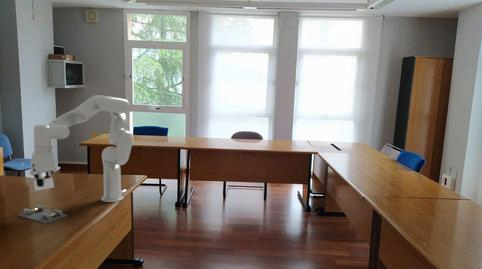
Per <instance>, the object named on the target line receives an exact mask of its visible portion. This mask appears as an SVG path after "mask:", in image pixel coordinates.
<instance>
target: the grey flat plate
mask: <svg viewBox="0 0 482 269" xmlns="http://www.w3.org/2000/svg"><path fill="white" fill-rule="evenodd" d="M42 213H44V214H51V213H53V210H50V209H46V208H44V212H42V211H38V212H34V213H32V215H28V214H24V212H23V213H22V212H21V213H19V214H17V216H18V217H20V218H25V219H28V220H31V221H35V222H38V223H42V224H49V223H52V222H55V221H58V220H61V219H63V218H66V217H68V214H64V213H62V216H61V217H60V216H55V217H52V218H50V219H51V220H45V219H42Z"/></svg>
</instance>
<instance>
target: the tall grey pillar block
mask: <svg viewBox="0 0 482 269" xmlns="http://www.w3.org/2000/svg"><path fill="white" fill-rule="evenodd" d="M41 179H42V187H39V186H37V179H36V180H34V181H33V185H34V190H35V192H36V191H42V190H47V189H52V188H55V185H54V180H53V177H50V178H47V179H45V178H41Z"/></svg>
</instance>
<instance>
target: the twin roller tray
mask: <svg viewBox="0 0 482 269" xmlns="http://www.w3.org/2000/svg"><path fill="white" fill-rule="evenodd" d="M44 209H45V206H43V205H40V204H39V205H38V204H36V205H35V207H34V208H31V209H29V208H26V207H25V208H23V213H24V214H28V215H32V213H34V212H38V211H42V212H44ZM52 211H53V213H51V214H44V213H42V219H45V220H51V219H50V218H52V217H55V216H60V217H61V216H62V214H63V211H62V210H60V209H59V210H58V209H53V210H52Z"/></svg>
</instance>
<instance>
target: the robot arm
mask: <svg viewBox="0 0 482 269" xmlns="http://www.w3.org/2000/svg"><path fill="white" fill-rule="evenodd" d="M130 110H131V103H130V102H129V101H128V100H127V99H125V98H120V97H113V96H109V95H101V94H96V95H95V94H94V95H92V96H91V97H89V98H88V99H86V100H85V101H84V102H82V103H81V104H80V105H78V106H77V107H76V108H74V109H71V110H70V111H68V112H66V113H63V114H61V115H59V116H58V117H56V118H55V119H53V120H52V121H51V122H49V123H48V124H36V125H34V126H33V140H34V141H33V146H34V147H33V150H34V152H32V154H31V158H30V172H29V176H33V177H34V178H35V179H36V180H37V186H39V187H42V179H43V178H42V174H43V173H45V177H44V179H47V178H52V177H53V176H52V175H53V174H54V173H55V172H57V168H56V166H55V165H56V163H55V157H54V156H55V155H54V152H53V151H52V150H53V149H54V146H53V145H52V144H53V143H52V139H54V140H55V139H56V140H63V139H66V138H68V136H69V135H70V128H69V127H71V126H74V125H78V124H82V123H84V122H87V121H88V120H90V119H91V118H92V117H94V115H96V114H98V113H99V112H100V111H101V112H108V113H109V114H110V115H111V125H110V129H109V131H108V132H109V133H108V135H107V136H108V137H107V138H108V139H107V140H108V142H109V143H110V144H112V145H115V146H107V147H104V149H103V150H102V153H101V159H102V160H101V161H102V165H103V166H102V167H103V196H101V198H100V200H101V201H102V202H105V203H116V202H120V201H123V200H124V195H123V194H125V193H127V189H122V181H121V180H122V175H121V174H122V171H121V166H123V165H125V164H126V163H127V162H128V161H129V158H130V154H131V150H132V148H133V146H132V145H133V141H134V138H133V134H132V133H131V131H129V130H127V124H128V118H127V115H126V113H128V112H130Z"/></svg>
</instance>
